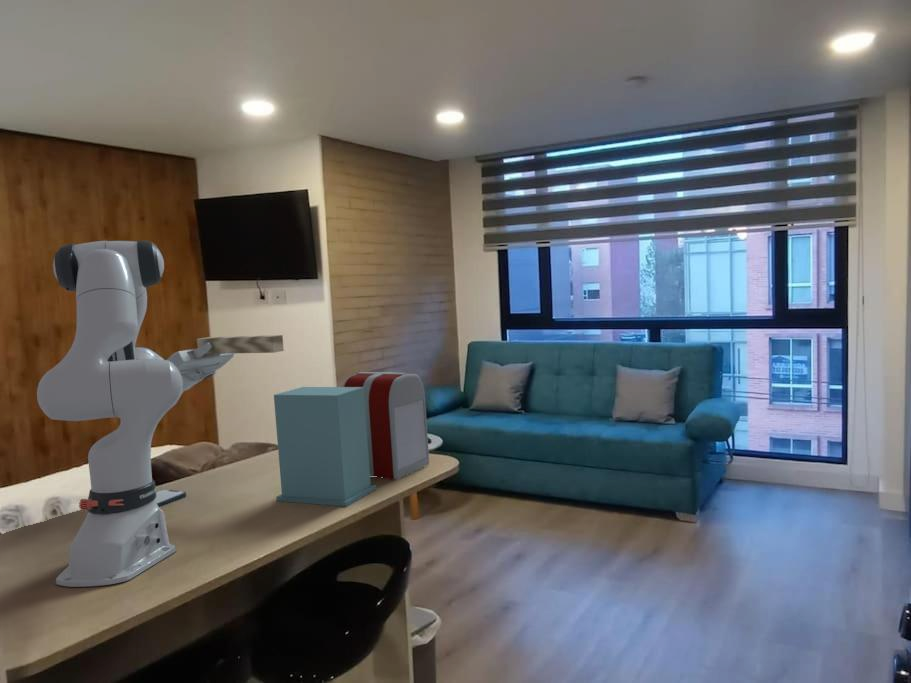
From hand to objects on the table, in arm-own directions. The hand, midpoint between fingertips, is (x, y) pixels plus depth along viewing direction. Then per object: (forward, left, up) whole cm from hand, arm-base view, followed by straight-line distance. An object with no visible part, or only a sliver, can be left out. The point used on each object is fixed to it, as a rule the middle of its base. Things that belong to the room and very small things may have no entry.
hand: (218, 343), depth 184 cm
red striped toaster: (+12, -40, -39) cm, 57 cm away
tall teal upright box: (-10, -28, -38) cm, 48 cm away
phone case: (-12, +16, -39) cm, 44 cm away
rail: (-2, -6, -2) cm, 7 cm away
